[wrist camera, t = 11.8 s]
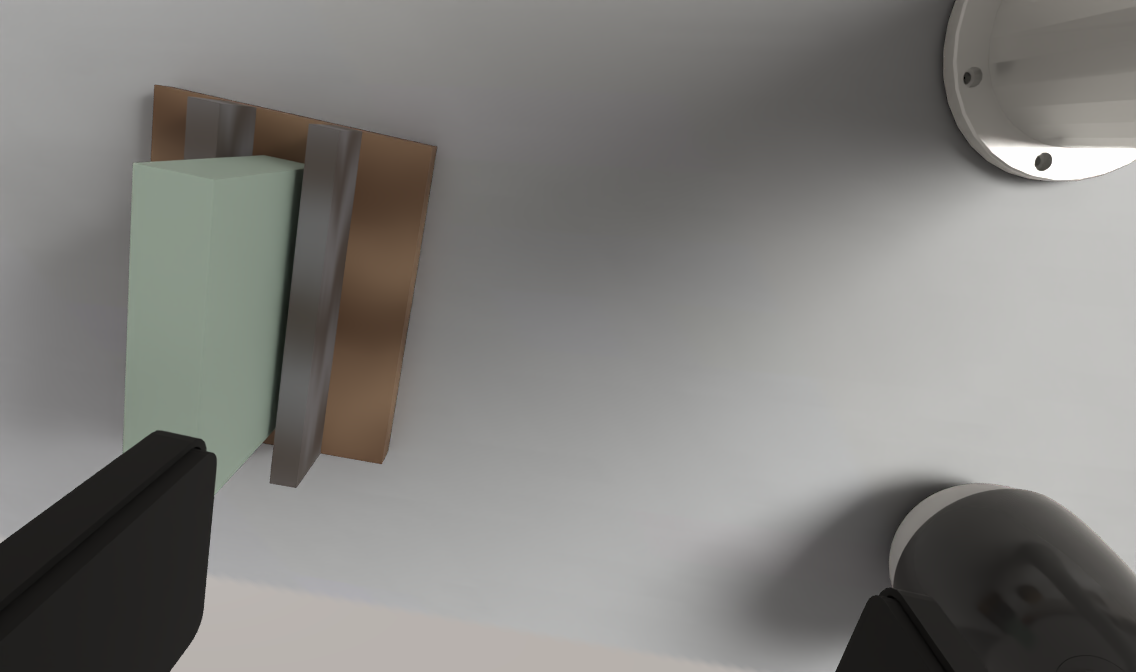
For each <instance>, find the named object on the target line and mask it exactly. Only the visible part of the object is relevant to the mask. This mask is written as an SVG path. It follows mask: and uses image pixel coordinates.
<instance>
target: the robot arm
mask: <svg viewBox="0 0 1136 672" xmlns="http://www.w3.org/2000/svg"><path fill="white" fill-rule="evenodd" d="M964 75H965V81H963V78H964ZM943 78H944V84H945V89H946V94H947V100H948V104H949V107H950V109H951V111H952V114H953V116H954V119H955V121H956V124H957V126H958V128H959V129H960V131H961V132H962V134H963V135H964V136H965V138H966V139H967V141H968V142H969V144H970V145H971V146H972V147H973V148H974V149H975V150H976V151H977V152H978V153H979V154H980V155H981V156H982V157H984V158H985V159H986V160H987V161H988V162H990V163H992V164H993V165H995V166H997V167H999V168H1000V169H1002V170H1004V171H1006V172H1008V173H1011V174H1014V175H1018V176H1021V177H1024V178H1028V179H1036V180H1044V181H1079V180H1084V179H1088V178H1093V177H1097V176H1102V175H1104V174H1107V173H1109V172H1112V171H1114V170H1117V169H1119V168H1122V167H1124V166H1126V165H1128V164H1130V163H1131V162H1133V161H1135V160H1136V0H956V1H955V4H954V7H953V10H952V13H951V15H950V18H949V21H948V26H947V32H946V38H945V44H944V50H943ZM216 470H217V457H216V455H215V454H214V453H213V452H208V451H207V447H206V444H205V441H203V440H202V439H200V438H195V437H191V436H186V435H181V434H177V433H172V432H167V431H163V430H156V431H154V432H152V433H151V434H149V435H148V436H146V437H145V438H144V439H142V440H141V441H140V442H138V443H137V444H136V445H134V446H133V447H131V448H130V449H129V450H127V451H126V452H125V453H123V454H122V455H120V456H119V457H118V458H116V459H115V460H114V461H112V462H111V463H110V464H108V465H107V466H105V467H104V468H103V469H101V470H100V471H99V472H97V473H96V474H94V475H93V476H92V477H90V478H89V479H88V480H86V481H85V482H84V483H82V484H81V485H79V486H78V487H77V488H75V489H74V490H73V491H71V492H70V493H68V494H67V495H66V496H64V497H63V498H62V499H60V500H59V501H58V502H56V503H55V504H53V505H52V506H51V507H49V508H48V509H47V510H45V511H44V512H43V513H41V514H40V515H38V516H37V517H36V518H34V519H33V520H32V521H30V522H29V523H27V524H26V525H25V526H23V527H22V528H21V529H19V530H18V531H17V532H15V533H14V534H12V535H11V536H10V537H8V538H7V539H6V540H4V541H3V542H2V543H0V672H170V671H171V669H172V668H173V667H174V665H175V664H176V662H177V661H178V660H179V658H180V657H181V655H182V654H183V653H184V651H185V650H186V649H187V648H188V646H189V645H190V643H191V642H192V640H193V639H194V637H195V635H196V633H197V631H198V628H199V626H200V623H201V620H202V616H203V610H204V599H205V587H206V578H207V567H208V556H209V545H210V535H211V524H212V513H213V502H214V492H215V481H216ZM835 672H989V670H988V669H987V668H986V667H985V665H984V664H983V663H982V661H981V660H980V659H979V657H978V656H977V655H976V653H975V652H974V651H973V649H972V648H971V647H970V645H969V644H968V643H967V642H966V640H965V639H964V638H963V636H962V635H961V634H960V632H959V631H958V630H957V628H956V627H955V626H954V624H953V623H952V622H951V620H950V619H949V618H948V617H947V615H946V614H945V613H944V611H943V610H942V609H941V607H940V606H939V605H938V603H937V602H936V601H935V600H934V599H933V598H932V597H929V596H927V595H923V594H918V593H913V592H909V591H904V590H899V589H895V588H887V589H885V590H883V591H882V592H881V593H880V595H879V596H878V595H875V596H872V597H871V598H870V599H869V600H868V602H867V603H866V606H865V608H864V610H863V612H862V614H861V617H860V619H859V621H858V623H857V625H856V628H855V630H854V632H853V634H852V636H851V639H850V641H849V643H848V645H847V647H846V650H845V652H844V654H843V656H842V658H841V660H840V663H839V665H838V667H837V669H836V671H835Z"/></svg>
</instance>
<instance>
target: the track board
mask: <svg viewBox="0 0 1136 672" xmlns="http://www.w3.org/2000/svg"><path fill="white" fill-rule="evenodd" d="M436 151H437V147H436V146H432V145H427V144H423V143H418V142H414V141H410V140H405V139H401V138H396V137H392V136H387V135H383V134H379V133H374V132H370V131H365V130H361V129H356V128H352V127H347V126H343V125H339V124H334V123H330V122H325V121H321V120H316V119H312V118H308V117H303V116H299V115H294V114H290V113H285V112H281V111H277V110H272V109H268V108H263V107H259V106H254V105H250V104H245V103H241V102H237V101H232V100H228V99H223V98H219V97H214V96H210V95H206V94H201V93H197V92H192V91H188V90H183V89H179V88H174V87H168V86H161V85H154V105H153V125H152V146H151V162H155V161H172V160H189V159H206V158H224V157H241V156H258V155H266V156H271V157H275V158H280V159H285V160H289V161H294V162H299V163H304V173H303V182H302V191H301V200H300V209H299V218H298V228H297V237H296V246H295V255H294V264H293V273H292V282H291V291H290V301H289V310H288V319H287V328H286V337H285V346H284V355H283V365H282V374H281V383H280V392H279V401H278V410H277V419H276V428H275V430H274V431H273V432H272V433H271V434H270V435H269V436H268V437H267V438H266V439H265V441H264V442H263V443H265V444H271V445H274V447H273V456H272V465H271V474H270V483H271V484H277V485H283V486H289V487H294V488H296V487H297V486H298V485H299V483H300V482H301V480H302V479H303V477H304V476H305V475H306V473H307V472H308V470H309V469H310V467H311V466H312V465H313V463H314V462H315V460H316V459H317V457H318V456H319V455H320V453H321V454H327V455H333V456H338V457H344V458H350V459H355V460H361V461H367V462H372V463H378V464H382V462H383V460H384V458H385V456H386V454H387V452H388V448H389V442H390V436H391V430H392V424H393V417H394V411H395V405H396V399H397V393H398V386H399V380H400V374H401V368H402V362H403V355H404V349H405V343H406V337H407V331H408V324H409V318H410V312H411V306H412V299H413V293H414V287H415V281H416V275H417V268H418V262H419V256H420V250H421V244H422V237H423V231H424V225H425V219H426V213H427V206H428V200H429V194H430V188H431V182H432V175H433V169H434V163H435V157H436Z"/></svg>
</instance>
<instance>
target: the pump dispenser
mask: <svg viewBox="0 0 1136 672" xmlns="http://www.w3.org/2000/svg"><path fill="white" fill-rule="evenodd" d="M889 573H890V580H891V585H892V588H895V589H899V590H904V591H909V592H913V593H918V594H923V595H927V596H929V597H932V598H933V599H934V600H935V601H936V602H937V603H938V605H939V606H940V607H941V609H942V610H943V611H944V613H945V614H946V615H947V617H948V618H949V619H950V620H951V622H952V623H953V624H954V626H955V627H956V628H957V630H958V631H959V632H960V634H961V635H962V636H963V638H964V639H965V640H966V642H967V643H968V644H969V645H970V647H971V648H972V649H973V651H974V652H975V653H976V655H977V656H978V657H979V659H980V660H981V661H982V663H983V664H984V665H985V667H986V668H987V669H988V670H989V672H1136V574H1135V573H1134V572H1133V571H1132V570H1131V569H1130V568H1129V566H1128V565H1127V564H1126V563H1125V562H1124V561H1123V560H1122V559H1121V558H1120V557H1119V556H1118V555H1117V554H1116V553H1115V552H1114V551H1113V550H1112V549H1111V548H1110V547H1109V546H1108V545H1107V544H1106V543H1105V542H1104V541H1103V540H1102V539H1101V538H1100V537H1099V536H1098V535H1097V534H1096V533H1095V532H1094V531H1093V530H1092V529H1091V528H1090V527H1089V526H1087V525H1086V524H1085V523H1084V522H1083V521H1082V520H1081V519H1079V518H1078V517H1077V516H1076V515H1075V514H1073V513H1072V512H1071V511H1069V510H1068V509H1067V508H1065V507H1064V506H1062V505H1061V504H1059V503H1058V502H1056V501H1054V500H1053V499H1051V498H1049V497H1047V496H1045V495H1042V494H1039V493H1036V492H1033V491H1028V490H1022V489H1015V488H1011V487H1007V486H1002V485H996V484H985V483H974V484H964V485H958V486H954V487H950V488H947V489H944V490H942V491H939V492H937V493H935V494H933V495H931V496H929V497H928V498H926V499H924V500H923V501H922V502H920V503H919V504H918V505H917V506H915V507H914V508H913V509H912V510H911V511H910V512H909V513H908V515H907V516H906V517H905V518H904V520H903V521H902V522H901V524H900V526H899V527H898V529H897V531H896V534H895V536H894V538H893V541H892V545H891V549H890V555H889Z"/></svg>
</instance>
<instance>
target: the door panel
mask: <svg viewBox="0 0 1136 672" xmlns="http://www.w3.org/2000/svg"><path fill="white" fill-rule="evenodd" d="M303 173H304V163H299V162H294V161H289V160H285V159H280V158H275V157H271V156H266V155H258V156H241V157H224V158H206V159H189V160H172V161H155V162H138V163H133V172H132V200H131V229H130V258H129V286H128V315H127V343H126V372H125V400H124V429H123V453H125V452H126V451H127V450H129V449H130V448H131V447H133V446H134V445H136V444H137V443H138V442H140V441H141V440H142V439H144V438H145V437H146V436H148V435H149V434H151V433H152V432H154V431H156V430H163V431H167V432H172V433H177V434H181V435H186V436H191V437H195V438H200V439H202V440H203V441H205V444H206V447H207V451H208V452H213V453H214V454H215V455H216V457H217V470H216V481H215V492H214V495H215V494H216V493H217V492H218V491H219V490H220V489H221V488H222V486H223V485H224V484H225V483H226V482H227V481H228V480H229V479H230V478H231V477H232V476H233V474H234V473H235V472H236V471H237V470H238V469H239V468H240V467H241V466H242V465H243V463H244V462H245V461H246V460H247V459H248V458H249V457H250V456H251V455H252V454H253V453H254V451H255V450H256V449H257V448H258V447H259V446H260V445H261V444H262V443H263V442H264V441H265V439H266V438H267V437H268V436H269V435H270V434H271V433H272V432H273V431H274V430H275V428H276V419H277V410H278V401H279V392H280V383H281V374H282V365H283V355H284V346H285V337H286V328H287V319H288V310H289V301H290V291H291V282H292V273H293V264H294V255H295V246H296V237H297V228H298V218H299V209H300V200H301V191H302V182H303Z"/></svg>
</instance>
